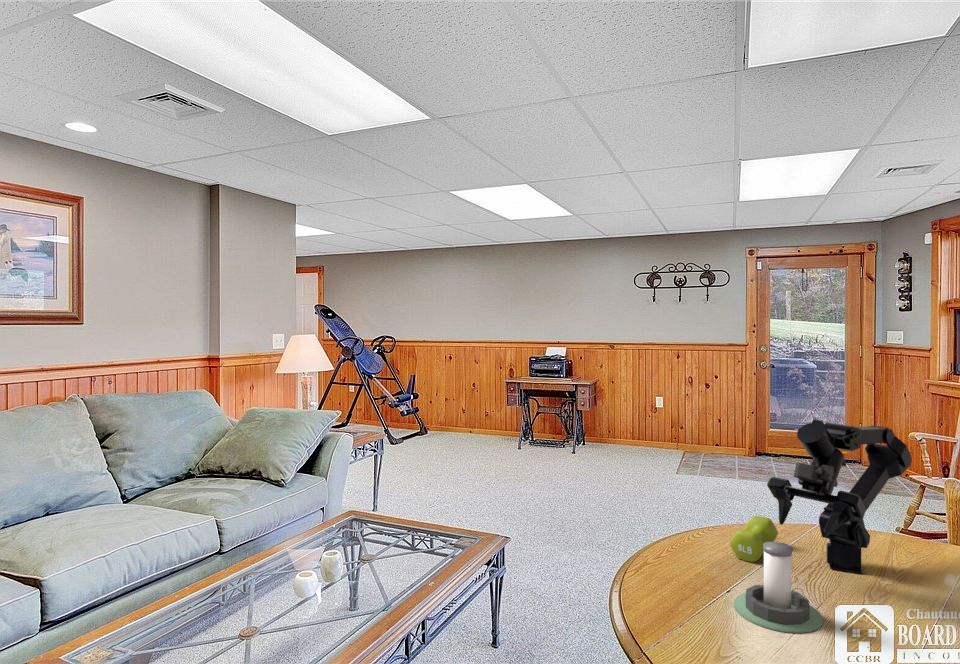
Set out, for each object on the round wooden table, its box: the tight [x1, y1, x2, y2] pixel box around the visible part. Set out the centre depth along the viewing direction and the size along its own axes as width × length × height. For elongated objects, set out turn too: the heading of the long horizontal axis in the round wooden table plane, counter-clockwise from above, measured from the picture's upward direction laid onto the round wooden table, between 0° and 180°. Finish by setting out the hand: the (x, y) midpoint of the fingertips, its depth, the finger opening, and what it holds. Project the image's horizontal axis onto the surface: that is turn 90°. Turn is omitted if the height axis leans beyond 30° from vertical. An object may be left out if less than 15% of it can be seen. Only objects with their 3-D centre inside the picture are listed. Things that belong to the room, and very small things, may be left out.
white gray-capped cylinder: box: [763, 541, 793, 609], centre depth 119 cm, size 5×5×13 cm
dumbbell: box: [729, 515, 779, 563], centre depth 149 cm, size 16×8×7 cm, turn 139°
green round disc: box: [733, 584, 823, 634], centre depth 119 cm, size 16×16×3 cm
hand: (802, 529), depth 127 cm, fingers open, 9 cm apart
